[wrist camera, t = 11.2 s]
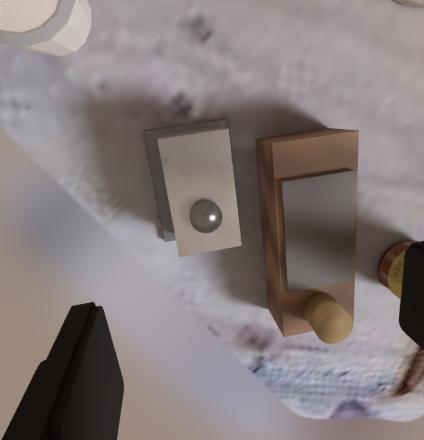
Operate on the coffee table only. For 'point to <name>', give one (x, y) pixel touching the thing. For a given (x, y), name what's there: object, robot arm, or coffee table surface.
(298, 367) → the coffee table surface
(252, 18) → the coffee table surface
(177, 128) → the rubber mat
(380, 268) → the sauce bottle
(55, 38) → the white cylinder
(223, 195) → the grey box with knob
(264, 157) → the hand plane
